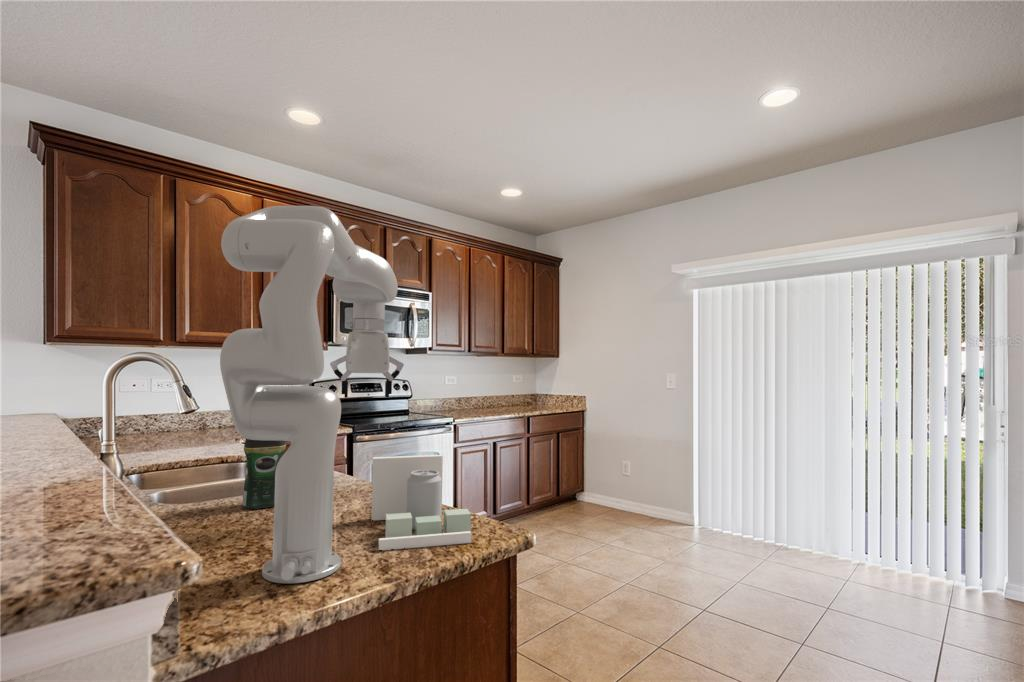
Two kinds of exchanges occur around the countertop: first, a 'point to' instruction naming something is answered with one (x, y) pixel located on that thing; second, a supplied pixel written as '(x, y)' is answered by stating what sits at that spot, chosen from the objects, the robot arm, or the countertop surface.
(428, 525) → the offcut mid
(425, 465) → the rack
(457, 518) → the offcut
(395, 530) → the offcut
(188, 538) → the countertop surface
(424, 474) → the can
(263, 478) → the coffee jar
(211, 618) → the countertop surface
